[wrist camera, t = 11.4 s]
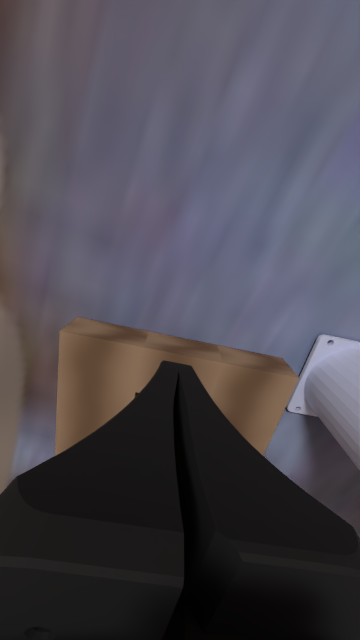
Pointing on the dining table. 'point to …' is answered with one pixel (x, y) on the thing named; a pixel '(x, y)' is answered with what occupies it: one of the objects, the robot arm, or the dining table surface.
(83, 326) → the board
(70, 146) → the dining table surface
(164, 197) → the dining table surface
